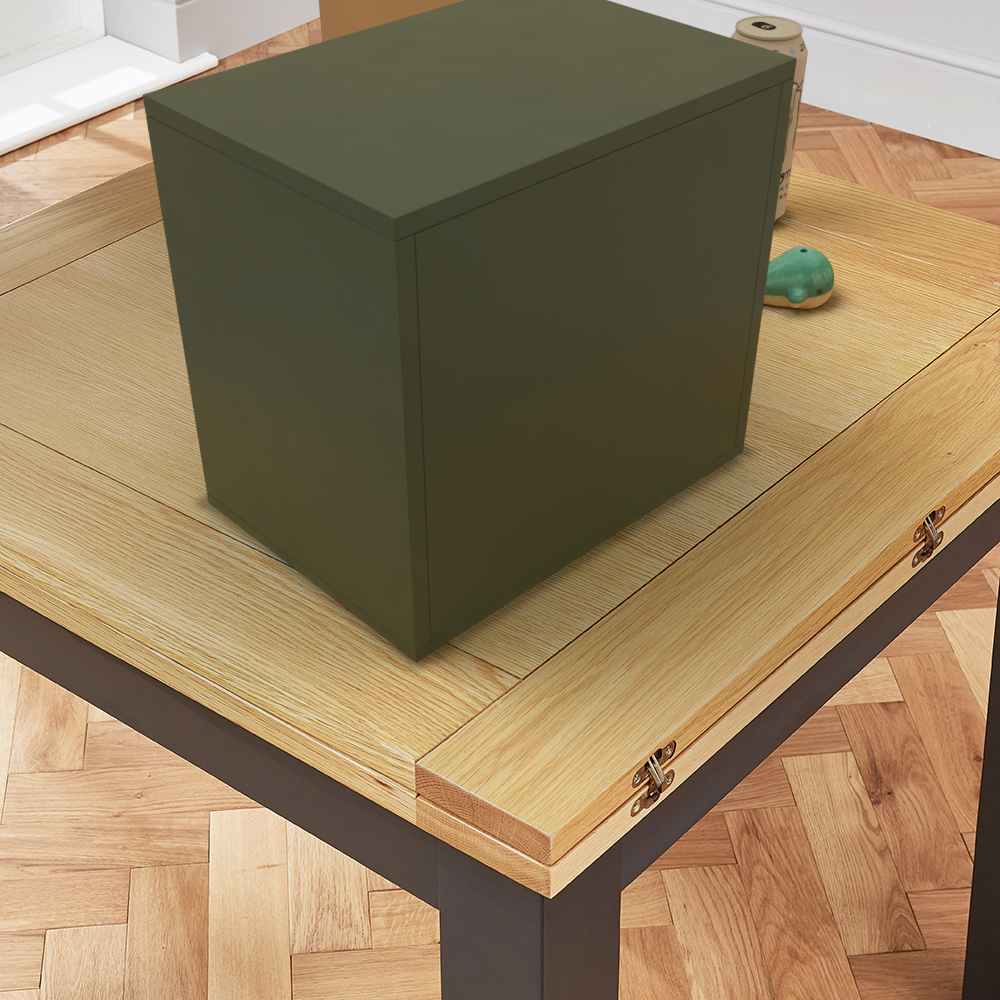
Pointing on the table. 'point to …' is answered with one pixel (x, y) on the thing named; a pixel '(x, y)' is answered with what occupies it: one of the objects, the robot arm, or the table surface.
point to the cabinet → (469, 290)
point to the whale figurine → (799, 279)
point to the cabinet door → (368, 14)
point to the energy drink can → (789, 41)
